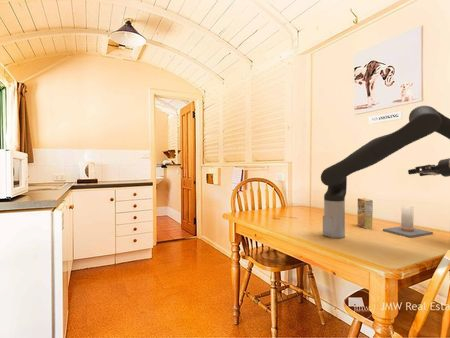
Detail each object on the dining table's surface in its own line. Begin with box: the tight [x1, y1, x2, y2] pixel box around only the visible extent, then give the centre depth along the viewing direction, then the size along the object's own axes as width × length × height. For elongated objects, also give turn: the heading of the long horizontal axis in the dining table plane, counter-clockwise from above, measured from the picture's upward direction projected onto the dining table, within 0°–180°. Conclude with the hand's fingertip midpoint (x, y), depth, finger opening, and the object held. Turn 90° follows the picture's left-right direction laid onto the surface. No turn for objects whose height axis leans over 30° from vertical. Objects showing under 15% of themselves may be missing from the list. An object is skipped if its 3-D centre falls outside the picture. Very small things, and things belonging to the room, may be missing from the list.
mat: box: [382, 225, 434, 239], centre depth 132 cm, size 16×14×1 cm
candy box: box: [357, 197, 374, 230], centre depth 145 cm, size 9×4×15 cm, turn 0°
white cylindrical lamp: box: [400, 205, 415, 232], centre depth 132 cm, size 5×5×12 cm
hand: (414, 173), depth 125 cm, fingers open, 8 cm apart
